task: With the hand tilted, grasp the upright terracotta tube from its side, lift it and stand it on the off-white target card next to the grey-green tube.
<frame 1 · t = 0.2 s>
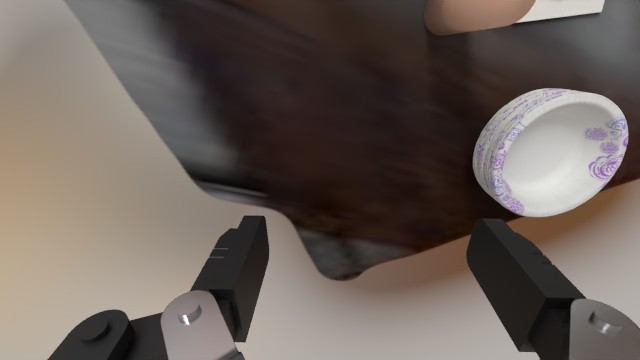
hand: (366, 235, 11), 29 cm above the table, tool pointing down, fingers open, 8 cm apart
paper bowls: (515, 141, 39), on the table
terracotta tube: (444, 12, 33), on the table
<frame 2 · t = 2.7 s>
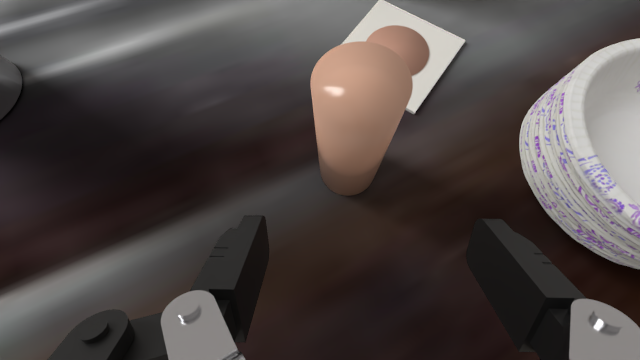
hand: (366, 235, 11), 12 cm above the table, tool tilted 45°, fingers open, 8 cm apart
paper bowls: (585, 178, 24), on the table
terracotta tube: (347, 169, 25), on the table
target card: (395, 53, 28), on the table
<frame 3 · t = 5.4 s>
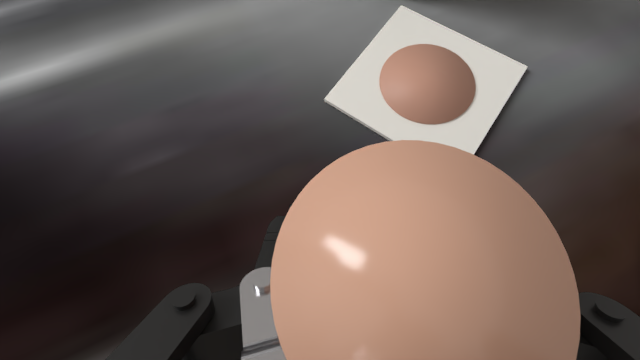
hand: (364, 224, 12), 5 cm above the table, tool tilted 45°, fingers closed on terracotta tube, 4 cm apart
terracotta tube: (355, 271, 16), on the table, touching gripper
target card: (425, 85, 19), on the table
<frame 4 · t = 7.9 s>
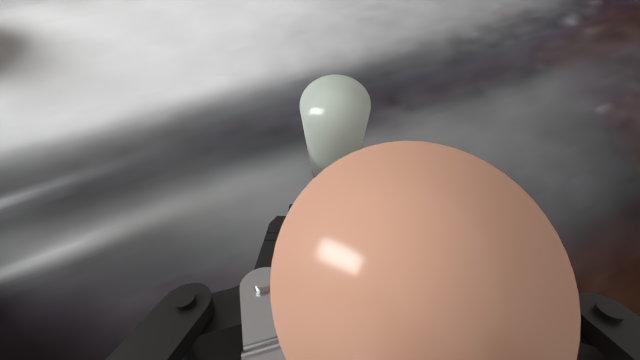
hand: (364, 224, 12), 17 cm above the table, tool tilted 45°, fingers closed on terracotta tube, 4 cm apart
terracotta tube: (355, 271, 16), point 12 cm above the table, touching gripper
grey-green tube: (333, 166, 30), on the table
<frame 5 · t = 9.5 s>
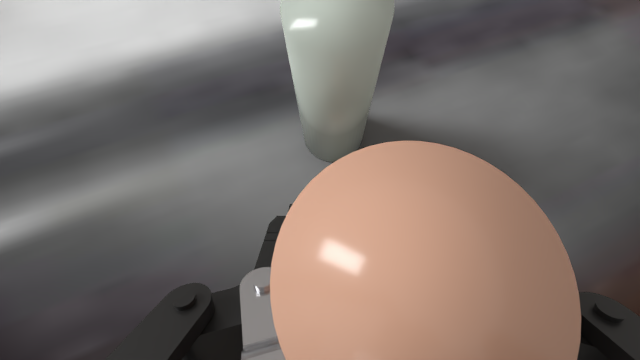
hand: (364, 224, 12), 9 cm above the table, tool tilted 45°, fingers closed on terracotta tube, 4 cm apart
terracotta tube: (355, 271, 16), point 4 cm above the table, touching gripper
grey-green tube: (333, 134, 23), on the table
when the fingers open (7 cm above the table, at t = 10.6 s): terracotta tube drops 1 cm, resting on target card.
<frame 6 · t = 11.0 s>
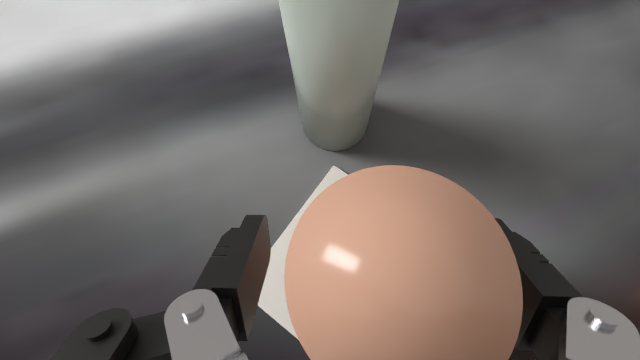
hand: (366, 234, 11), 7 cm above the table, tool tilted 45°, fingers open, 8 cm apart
terracotta tube: (355, 272, 17), resting on target card
grey-green tube: (334, 121, 21), on the table
target card: (352, 271, 18), on the table
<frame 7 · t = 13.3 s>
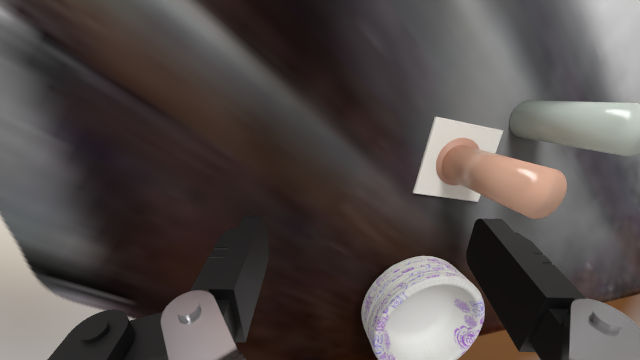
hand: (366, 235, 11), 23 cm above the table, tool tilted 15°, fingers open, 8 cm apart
paper bowls: (402, 287, 42), on the table
terracotta tube: (458, 163, 37), resting on target card
grey-green tube: (525, 119, 37), on the table
target card: (456, 161, 37), on the table
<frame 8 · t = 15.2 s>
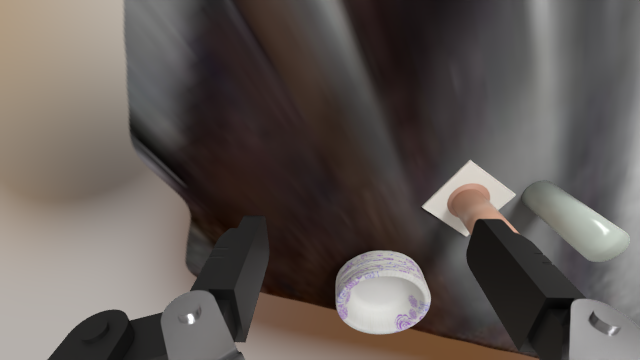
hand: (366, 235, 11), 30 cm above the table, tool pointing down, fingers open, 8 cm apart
paper bowls: (376, 269, 52), on the table
terracotta tube: (467, 202, 44), resting on target card
grey-green tube: (538, 194, 43), on the table
target card: (467, 200, 44), on the table
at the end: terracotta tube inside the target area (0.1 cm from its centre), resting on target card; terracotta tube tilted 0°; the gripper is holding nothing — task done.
